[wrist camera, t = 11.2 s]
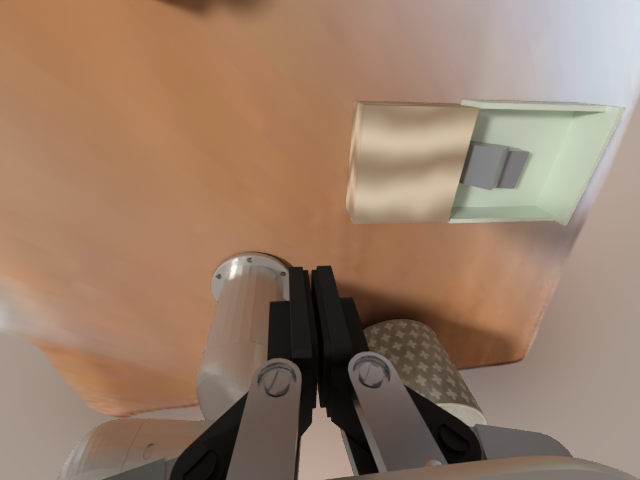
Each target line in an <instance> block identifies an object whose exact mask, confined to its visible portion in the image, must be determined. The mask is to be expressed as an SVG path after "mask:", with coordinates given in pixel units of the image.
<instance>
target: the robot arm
mask: <svg viewBox="0 0 640 480" xmlns="http://www.w3.org/2000/svg"><path fill="white" fill-rule="evenodd" d="M211 291H212V295H213V297H214V299H215V301H216V302H217V304H216V308H215V311H214V315H213V319H212V322H211V326H210V330H209V333H208V337H207V340H206V344H205V348H204V351H203V355H202V359H201V363H200V366H199V370H198V374H197V378H196V394H197V400H198V403H199V406H200V409H201V411H202V413H203V415H204V418H205V420H206V421H205V420H201V421H186V420H166V419H138V418H136V419H135V418H134V419H117V420H112V421H109V422H106V423H103V424H101V425H99V426H97V427H95V428H94V429H93V430H91V431H90V432H89V433H87V434H86V435H85V436H84V437H83V438H82V439H81V440H80V441H79V443H78V444H77V445H76V447H75V448H74V449H73V451H72V452H71V454H70V455H69V457H68V459H67V460H66V462H65V464H64V465H63V468H62V469H61V471H60V474H59V476H58V478H57V480H298V472H299V461H300V447H301V436H302V435H303V433H304V432H305V431H306V430H307V428H308V427H309V426H310V425H311V423H312V409H313V408H316V395H317V384H318V393H319V401H320V407H321V408H323V407H326V410H327V417H331V421H332V422H333V423H335V424H336V425H337V426H338V427H340V428H341V435H342V438H343V442H344V445H345V448H346V451H347V455H348V458H349V461H350V464H351V467H352V471H353V474H354V476H351V477H343V478H335V479H327V480H640V479H639V478H637V477H634V476H632V475H630V474H628V473H625V472H623V471H620V470H618V469H615V468H612V467H609V466H606V465H603V464H600V463H597V462H593V461H588V460H584V459H580V458H573V457H572V455H571V454H570V452H569V451H568V450H567V449H566V448H565V447H564V446H563V445H562V444H560V442H558V441H557V440H555V439H553V438H552V437H550V436H548V435H545V434H541V433H537V432H530V431H524V430H517V429H509V428H502V427H496V426H489V425H482V424H475V426H474V427H472V426H468V425H466V424H465V423H464V422H463V421H461V420H460V419H458V418H457V417H455V416H454V415H452V414H450V413H449V412H447V411H446V410H444V409H443V408H441V407H439V406H438V405H436V404H435V403H433V402H431V401H430V400H428V399H427V398H425V397H423V396H422V395H420V394H419V393H417V392H415V391H414V390H412V389H411V388H409V387H408V386H406V385H404V384H403V383H402V381H401V379H400V377H399V375H398V374H397V372H396V370H395V368H394V366H393V365H392V364H391V362H390V361H389V360H388V359H386V358H385V357H384V356H382V355H380V354H378V353H374V352H370V350H369V347H368V344H367V341H366V338H365V334H364V331H363V328H362V325H361V322H360V319H359V316H358V313H357V310H356V306H355V303H354V301H353V298H352V297H350V298H339V294H338V291H337V287H336V283H335V279H334V275H333V272H332V268H331V266H317V270H312V277H311V289H310V282H309V275H308V270H303V268H302V267H289V270H288V268H287V267H286V266H285V265H284V264H283V263H282V262H281V261H279V260H278V259H276V258H274V257H272V256H269V255H266V254H263V253H257V252H247V253H241V254H237V255H234V256H232V257H230V258H228V259H226V260H225V261H224V262H222V263H221V264H220V265H219V267H218V268H217V269H216V271H215V273H214V275H213V278H212V282H211Z"/></svg>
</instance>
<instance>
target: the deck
mask: <svg viewBox="0 0 640 480" xmlns="http://www.w3.org/2000/svg"><path fill="white" fill-rule="evenodd" d="M478 111H479V108H477V107H472V106H466V105H461V104H451V103H414V102H377V101H355V103H354V115H353V127H352V139H351V151H350V163H349V175H348V187H347V200H346V210H347V212H348V214H349V216H350V218H351V220H352V222H353V224H368V223H410V222H448V220H449V216H450V213H451V209H452V205H453V202H454V198H455V194H456V191H457V187H458V184H459V180H460V176H461V173H462V169H463V165H464V162H465V158H466V155H467V151H468V147H469V144H470V140H471V136H472V133H473V129H474V126H475V122H476V118H477V115H478Z"/></svg>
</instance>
